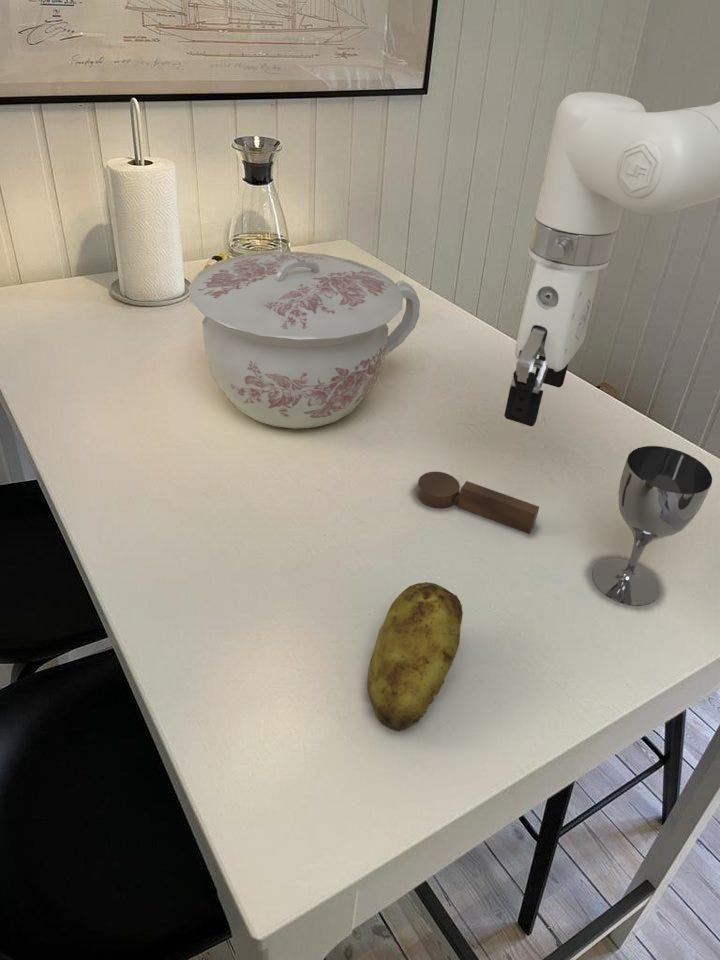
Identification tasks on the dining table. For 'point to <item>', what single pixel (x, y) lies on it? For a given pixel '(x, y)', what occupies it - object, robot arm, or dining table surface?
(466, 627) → the dining table surface
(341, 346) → the chamber pot
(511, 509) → the wooden spoon
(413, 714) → the potato
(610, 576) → the wine glass
